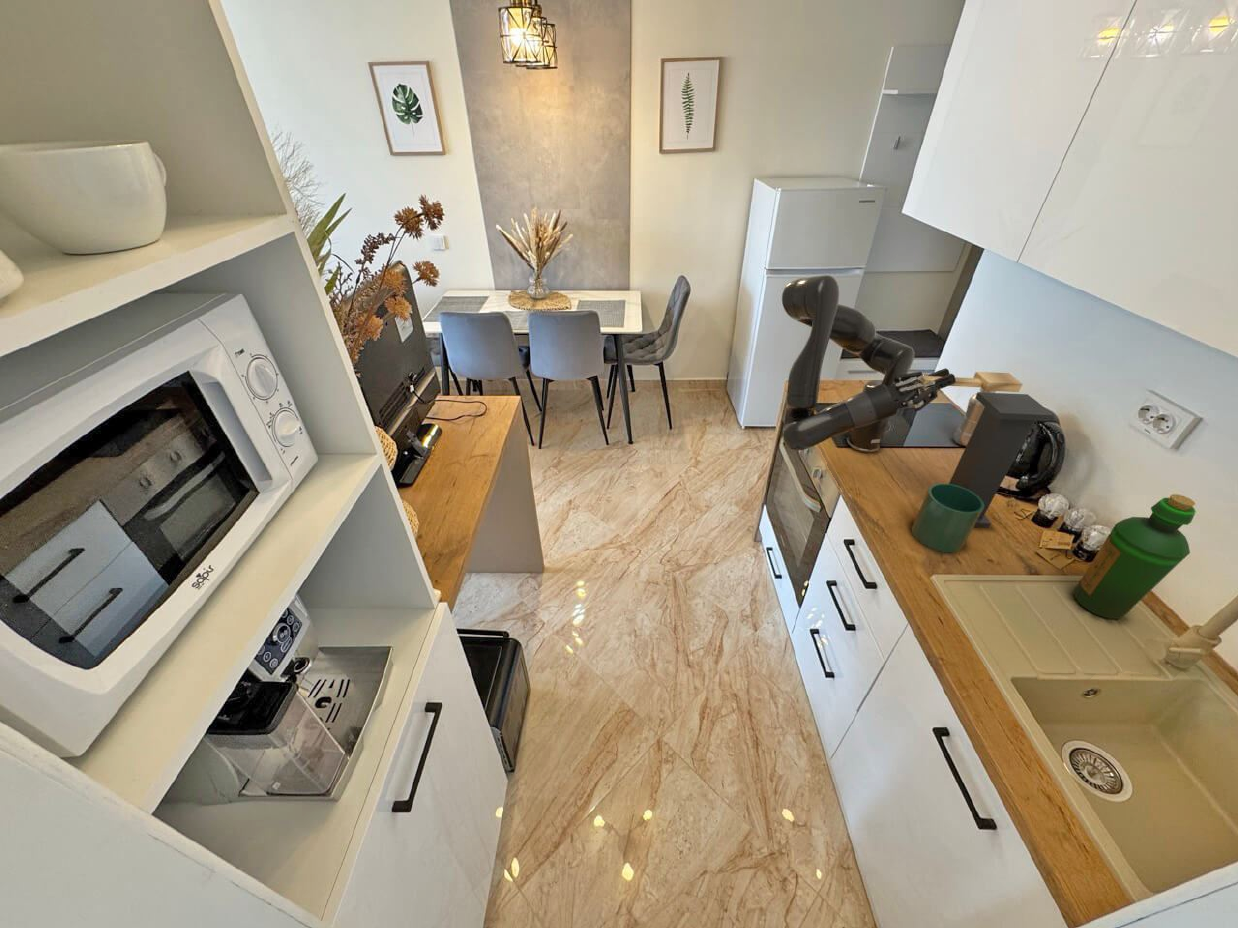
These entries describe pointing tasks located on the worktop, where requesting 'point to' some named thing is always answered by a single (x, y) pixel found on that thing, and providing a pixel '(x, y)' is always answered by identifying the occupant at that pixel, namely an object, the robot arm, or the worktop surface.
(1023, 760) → the worktop surface
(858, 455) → the worktop surface
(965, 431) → the plastic bottle
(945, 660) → the worktop surface
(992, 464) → the stand
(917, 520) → the crock
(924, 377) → the spatula
